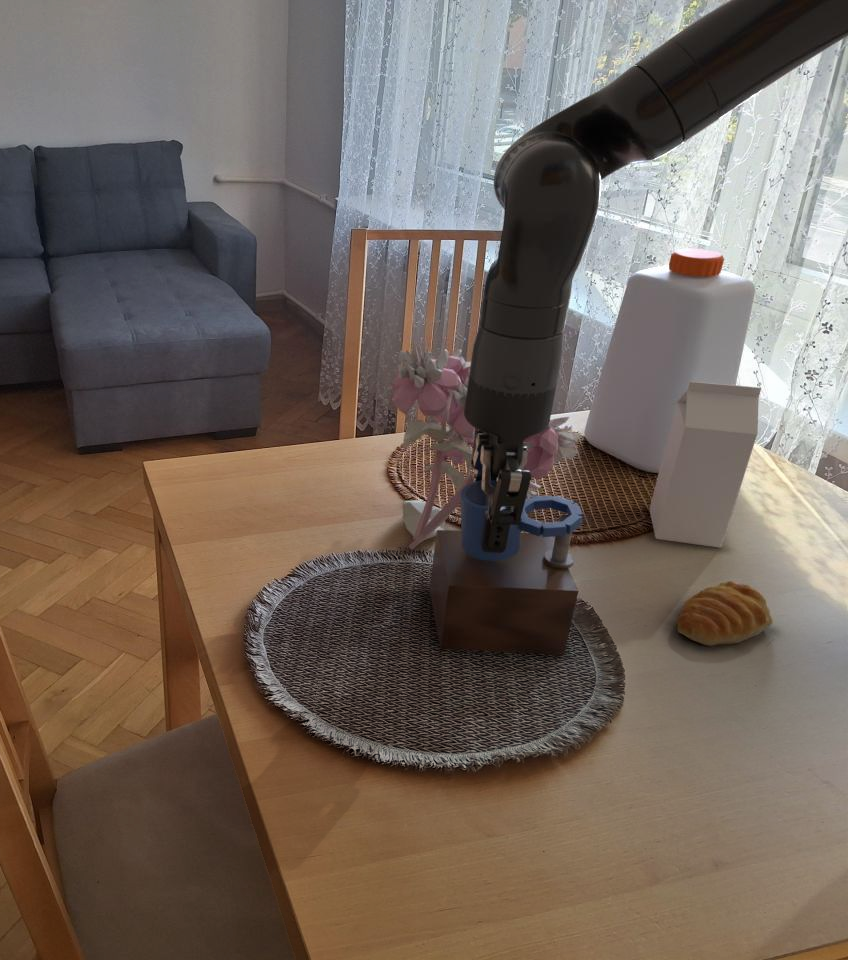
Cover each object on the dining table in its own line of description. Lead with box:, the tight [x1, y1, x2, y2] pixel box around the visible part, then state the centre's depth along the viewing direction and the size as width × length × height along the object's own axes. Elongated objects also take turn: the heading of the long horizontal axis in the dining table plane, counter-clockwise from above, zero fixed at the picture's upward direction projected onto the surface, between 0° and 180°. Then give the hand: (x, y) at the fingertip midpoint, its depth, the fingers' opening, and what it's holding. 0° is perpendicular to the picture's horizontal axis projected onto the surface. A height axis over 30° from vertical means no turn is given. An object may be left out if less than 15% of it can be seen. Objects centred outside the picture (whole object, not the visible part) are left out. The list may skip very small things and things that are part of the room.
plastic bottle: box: [583, 247, 756, 474], centre depth 116 cm, size 15×15×28 cm
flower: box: [391, 340, 583, 550], centre depth 102 cm, size 20×22×25 cm
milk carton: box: [649, 381, 762, 549], centre depth 100 cm, size 7×7×19 cm
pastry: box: [677, 580, 774, 647], centre depth 87 cm, size 9×7×4 cm
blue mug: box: [460, 480, 584, 561], centre depth 84 cm, size 11×6×6 cm, turn 83°
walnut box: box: [429, 514, 579, 656], centre depth 87 cm, size 13×10×13 cm
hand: (487, 532), depth 85 cm, fingers closed on blue mug, 5 cm apart
